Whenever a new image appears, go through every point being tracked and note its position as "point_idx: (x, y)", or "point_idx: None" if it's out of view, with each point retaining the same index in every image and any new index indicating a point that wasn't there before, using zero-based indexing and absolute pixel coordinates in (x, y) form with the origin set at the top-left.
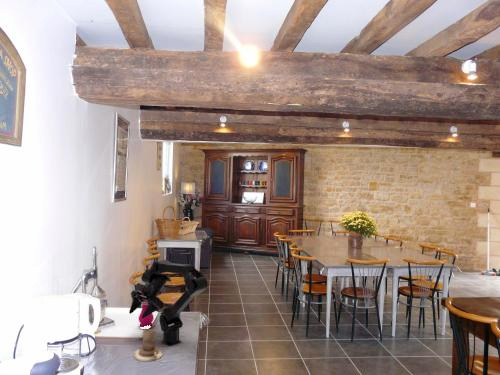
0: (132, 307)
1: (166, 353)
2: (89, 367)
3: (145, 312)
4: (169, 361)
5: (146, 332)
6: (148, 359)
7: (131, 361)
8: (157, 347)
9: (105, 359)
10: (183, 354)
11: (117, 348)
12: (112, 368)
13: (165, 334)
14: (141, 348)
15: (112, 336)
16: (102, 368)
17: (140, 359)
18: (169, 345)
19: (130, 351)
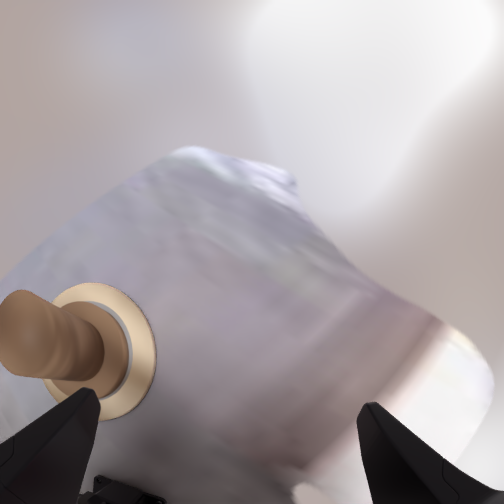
0: (395, 459)
1: (52, 406)
2: (205, 151)
3: (32, 423)
4: None
5: (19, 304)
6: (53, 303)
7: (109, 264)
8: (59, 385)
9: (213, 210)
10: (10, 425)
11: (276, 310)
12: (131, 189)
13: (100, 497)
14: (108, 331)
15: (418, 369)
16: (161, 170)
17: (79, 286)
18: (96, 476)
19: (191, 330)
